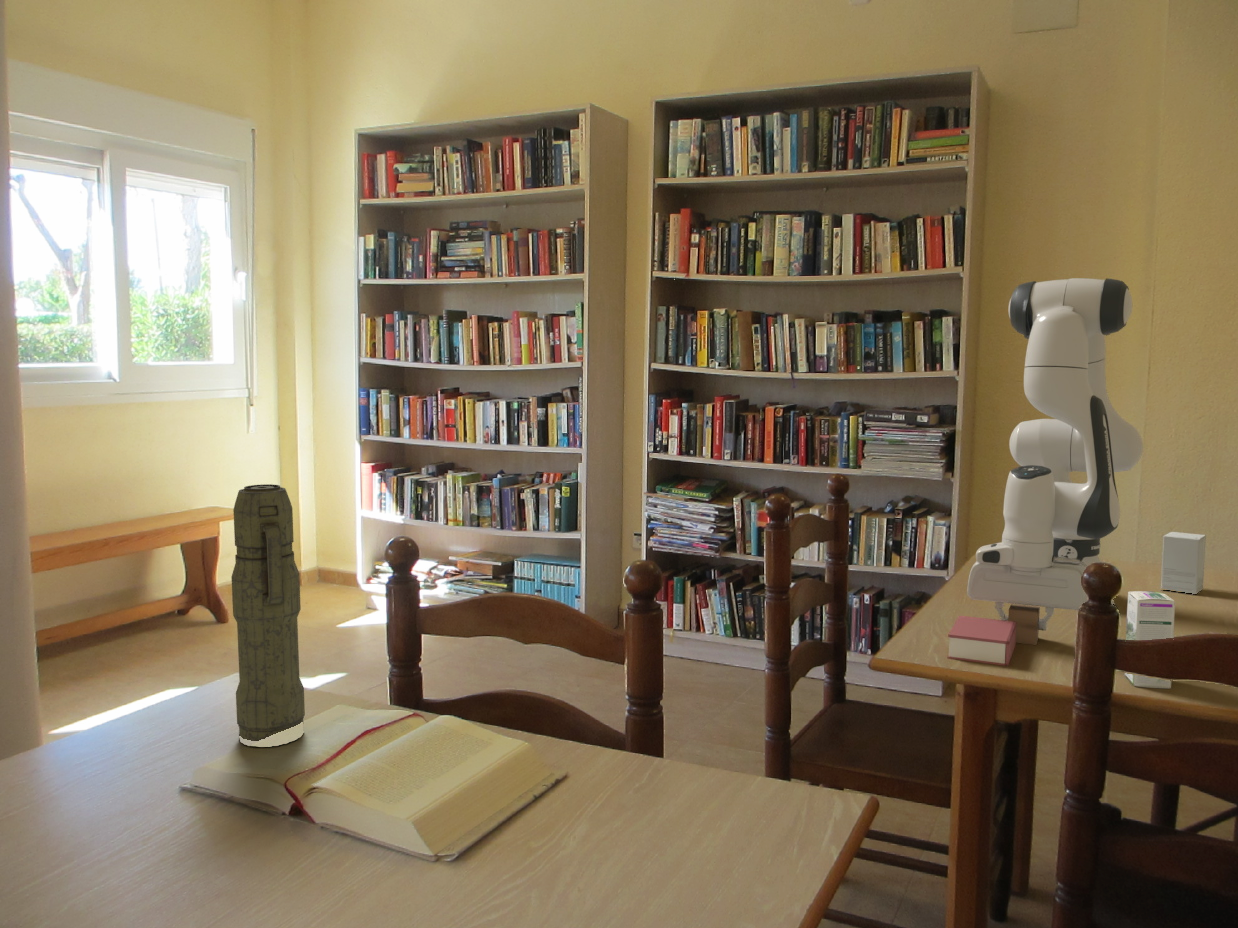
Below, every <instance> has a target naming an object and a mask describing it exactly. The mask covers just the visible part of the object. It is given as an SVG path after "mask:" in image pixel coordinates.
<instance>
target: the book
mask: <svg viewBox="0 0 1238 928" xmlns="http://www.w3.org/2000/svg"><path fill="white" fill-rule="evenodd" d="M1016 623H1017V622H1014V621H1005V620H1001V619H995V618H994V619H993V618H986V617H985V618H984V617H976V616H966V615H961V614H960V615H958V617H957V619H956V620H955V622H954V623H953V625H952V627H951V629H950V631H948V632H949V633H948V636H947V638H948V639H949V641H948V655H947V656H946V657H947V659H950V660H958V661H967V662H971V663H979V664H981V663H982V664H986V665H987V664H989V665H997V666H1003V667H1009V665H1010V662H1011V659H1012V657H1013V654H1014V650H1015V647H1016V644H1017V643H1016Z"/></svg>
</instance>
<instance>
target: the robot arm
mask: <svg viewBox="0 0 1238 928" xmlns="http://www.w3.org/2000/svg"><path fill="white" fill-rule="evenodd" d="M1132 310H1133V299H1132V295H1131V292H1130V289H1129V286H1128V285H1127V284H1126V283H1125V281H1122V280H1119V279H1115V278H1108V277H1107V278H1105V279H1099V278H1088V277H1086V278H1082V277H1077V278H1076V277H1073V278H1072V277H1070V278H1069V279H1068V278H1067V279H1055V280H1052V279H1051V280H1045V281H1038V282H1037V281H1035V280H1034V281H1033V280H1032V281H1029V282H1025V283H1021V284H1018V285H1017V287H1016V288H1015V289H1014V290H1013V292H1012V293H1011V298H1010V299H1009V302H1008V316H1009V320H1010V325H1011V327H1012V328H1013V329H1014V330H1015V331H1016V332H1017V333H1019V334H1020V335H1024V338H1025V339H1027V340H1028V341H1027V346H1026V353H1025V359H1024V369H1023V390H1024V391H1023V392H1024V394H1025V397H1026V399H1027V400H1028V402H1029V403H1030V405H1031V406H1032V407H1034V408H1035V409H1036V410H1038V411H1039V412H1041V413H1042V414H1044V415H1046V416H1048V417H1050V418H1039V419H1031V420H1025V421H1021V422H1020V423H1017V425H1015V428H1013V430H1012V432H1011V434H1010V437H1009V444H1008V446H1009V451H1010V455H1011V456H1012V459H1013V460H1014V461H1015V462H1016V463H1017V465H1019V466H1017V467H1015V468H1012V469H1011V470H1010V471H1009V473H1008V476H1007V480H1006V484H1005V490H1004V498H1003V511H1002V515H1003V519H1004V529H1003V532H1002V534H1001V542H996V543H991V544H986V545H982V546H980V547H979V548H978V549H977V550H976V553H975V559H976V561H975V562H974V564H973V565H972V566H971V569H970V571H969V575H968V581H967V588H966V589H967V591H966V594H967V596H968V597H969V598H970V599H971V600H974V601H975V600H977V601H983V602H984V601H986V602H993V603H994V602H995V603H994V604H995V605H994V608H995V610H996V611H997V612H996V613H997V614H998V615H999V617H1000V620H1005V621H1008V615H1009V614H1006V612H1005V611H1004V609H1003V608H1004V607H1005V604H1019V605H1028V606H1038V607H1041V608H1042V607H1043V608H1045V609H1044V610H1045V613H1046V614H1045V616H1044V618H1039V620H1038V630H1039V631H1045V632H1046V631H1047V627H1048V622H1049V620H1050V619H1051V618H1052V617H1053V615H1054V613H1055V609H1063V610H1072V611H1080V610H1079V607H1080V606H1081V605H1082V604H1083V603H1085V601H1087V596H1086V594H1085V592H1084V590H1083V588H1082V586H1081V576H1082V574H1083V572H1084V570H1085V569H1086V567H1087V566H1088V565H1090V564H1091V563H1093V562H1102V563H1104V562H1103V561H1102V560H1101V559H1100V557H1099V555H1100V552H1101V551H1100V550H1101V539H1103V538H1105V537H1107V536H1108V535H1110V534H1111V533H1112V532H1114V531H1115V530H1116V529H1118V526H1119V522H1120V519H1121V505H1120V502H1119V501H1120V500H1119V495H1118V491H1117V485H1116V480H1115V473H1119V472H1127V471H1131V470H1132V469H1133V468H1134V467H1135V466H1136V465H1138V463H1139V461H1140V459H1141V458H1142V455H1143V452H1144V451H1143V450H1144V443H1143V438H1142V436H1141V434H1140V432H1139V431H1138V429H1137V428H1136V427H1134V425H1133V424H1131V423H1129V422H1128V421H1126V420H1125V419H1124V418H1123V417H1122V416H1121V415H1120V414H1119V413H1118V412H1117V410H1115V408H1114V406H1113V404H1112V403H1111V401H1110V399H1109V395H1108V390H1107V381H1106V337H1105V336H1107V337H1108V336H1109V335H1111V334H1114V333H1117V332H1119V331H1122V330H1123V328H1125V327H1126V325H1127V323H1128V321H1129V319H1130V317H1131V314H1132ZM1071 472H1080V473H1086V477H1087V481H1086V482H1085V483H1076V482H1073V480H1072V479H1071V477H1070V473H1071ZM1114 600H1115V599H1114ZM1114 600H1113V601H1112V603H1113V604H1114V605H1113V606H1115V605H1116V603H1114Z"/></svg>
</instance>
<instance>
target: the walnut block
mask: <svg viewBox="0 0 1238 928" xmlns="http://www.w3.org/2000/svg"><path fill="white" fill-rule="evenodd" d="M1009 605H1010V606H1009V608H1008V614H1007V615H1008V621H1014V622H1017V623H1016V644H1024V645H1034V646H1037V644H1038V639H1039V631H1040V630H1038V620H1039V619H1040V613H1041V612H1040V611H1041V610H1040V609H1041V608H1040V607H1041V606H1032V605H1022V604H1013V603H1010V604H1009Z"/></svg>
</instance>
